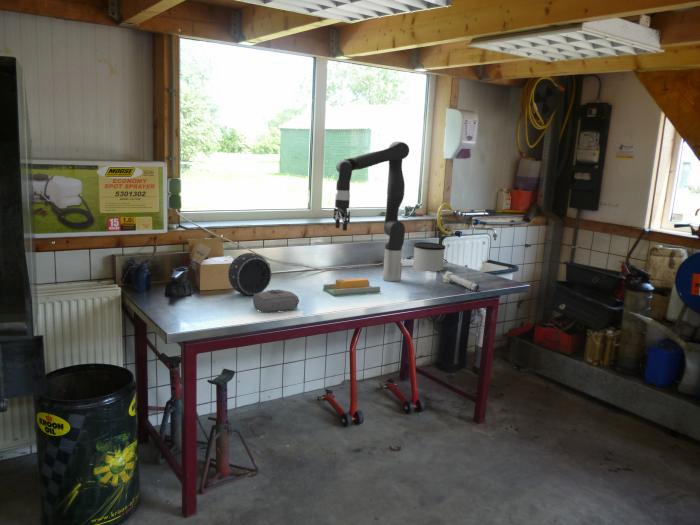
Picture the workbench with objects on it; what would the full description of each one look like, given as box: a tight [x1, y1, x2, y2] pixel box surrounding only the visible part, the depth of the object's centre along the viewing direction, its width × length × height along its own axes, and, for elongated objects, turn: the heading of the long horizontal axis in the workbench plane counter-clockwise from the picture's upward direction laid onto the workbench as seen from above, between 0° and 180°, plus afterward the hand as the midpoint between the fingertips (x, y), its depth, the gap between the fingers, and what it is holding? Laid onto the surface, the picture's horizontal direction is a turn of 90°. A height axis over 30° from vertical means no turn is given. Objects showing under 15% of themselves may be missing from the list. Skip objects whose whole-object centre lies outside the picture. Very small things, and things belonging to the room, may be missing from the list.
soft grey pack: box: [252, 289, 300, 313], centre depth 263 cm, size 15×8×20 cm
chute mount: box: [322, 281, 381, 297], centre depth 300 cm, size 26×13×3 cm, turn 118°
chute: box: [334, 277, 370, 289], centre depth 300 cm, size 16×6×5 cm, turn 118°
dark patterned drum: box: [227, 252, 273, 297], centre depth 282 cm, size 11×20×20 cm, turn 126°
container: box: [412, 241, 446, 272], centre depth 365 cm, size 19×19×15 cm
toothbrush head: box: [442, 270, 480, 292], centre depth 325 cm, size 5×7×25 cm
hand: (340, 229), depth 317 cm, fingers open, 8 cm apart
